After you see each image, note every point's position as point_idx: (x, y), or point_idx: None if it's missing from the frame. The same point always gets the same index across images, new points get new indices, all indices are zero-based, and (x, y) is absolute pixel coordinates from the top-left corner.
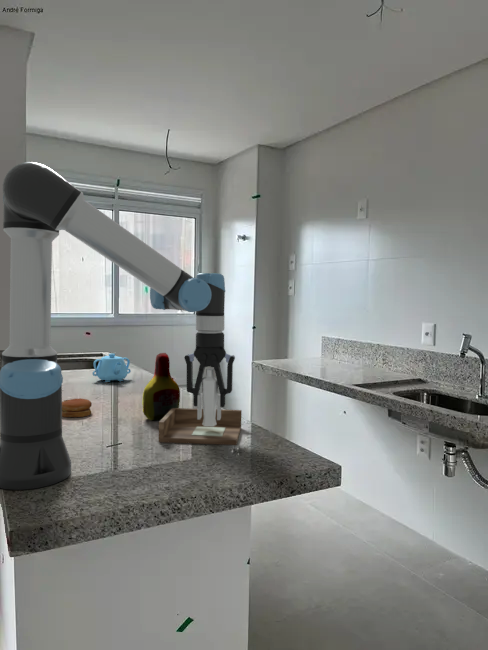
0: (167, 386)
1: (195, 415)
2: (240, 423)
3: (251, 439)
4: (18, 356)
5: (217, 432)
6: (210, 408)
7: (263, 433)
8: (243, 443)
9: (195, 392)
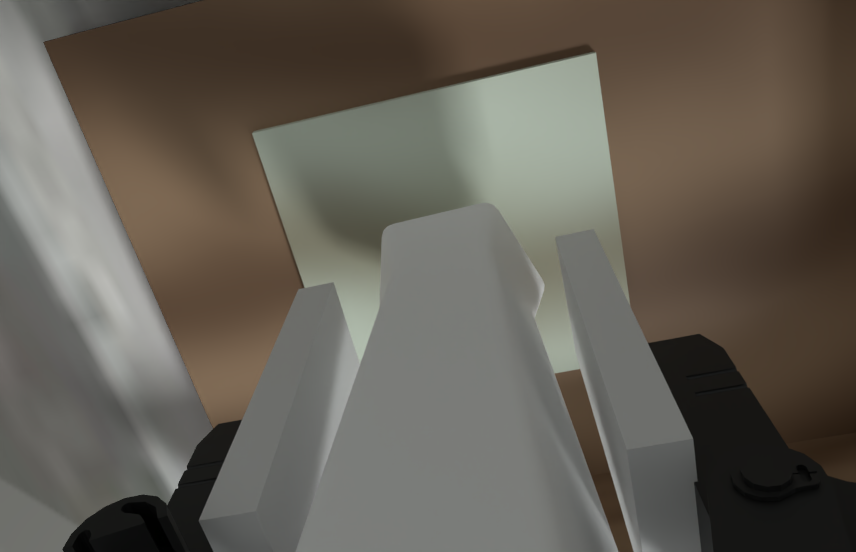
0: None
1: None
2: None
3: (38, 263)
4: None
5: (349, 227)
6: (405, 332)
7: (38, 452)
8: (38, 117)
9: (768, 476)
